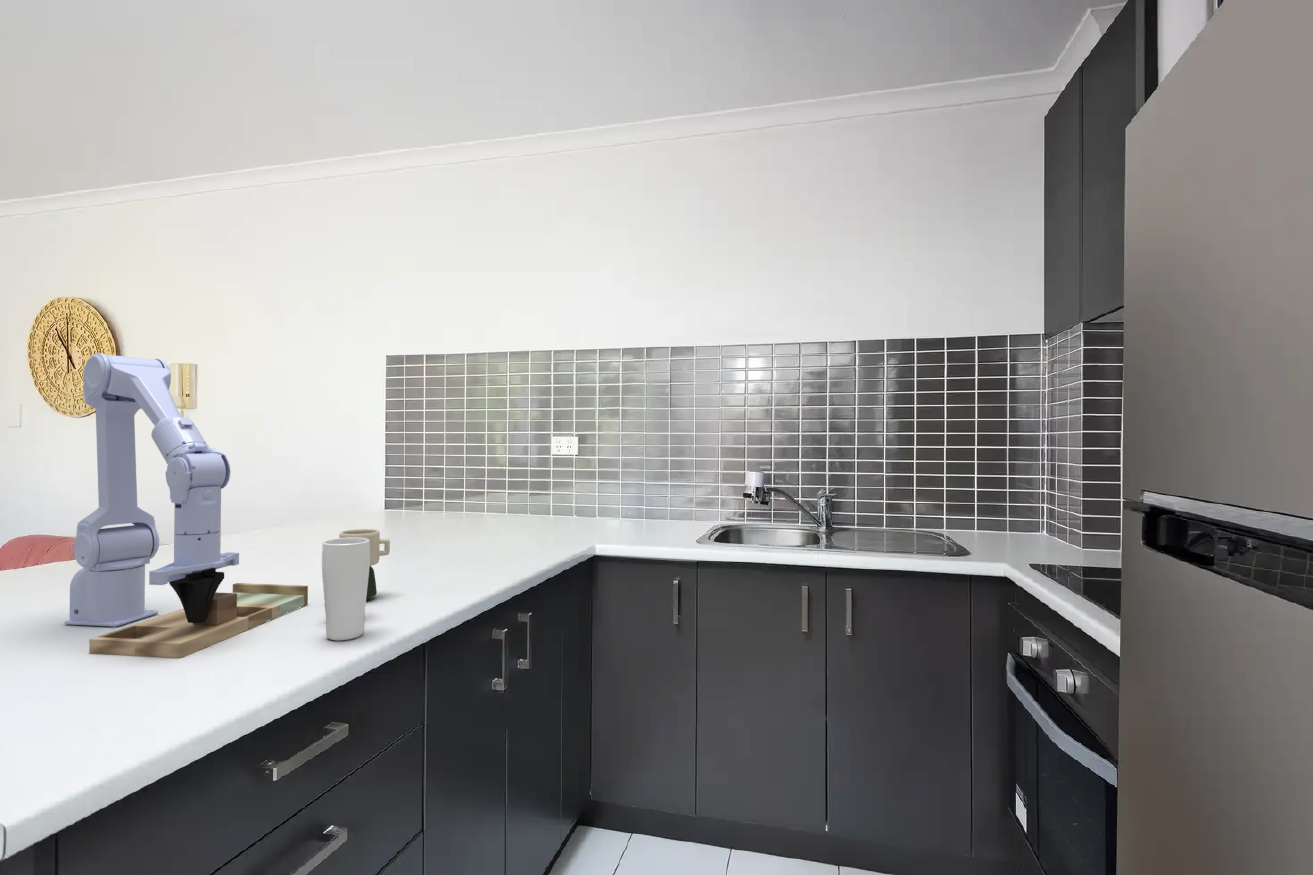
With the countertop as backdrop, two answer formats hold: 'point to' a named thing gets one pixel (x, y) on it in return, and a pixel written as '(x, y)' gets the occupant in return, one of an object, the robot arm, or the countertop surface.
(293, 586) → the wooden board
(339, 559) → the drinking glass
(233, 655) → the countertop surface
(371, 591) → the character mug
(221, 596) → the block
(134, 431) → the robot arm
